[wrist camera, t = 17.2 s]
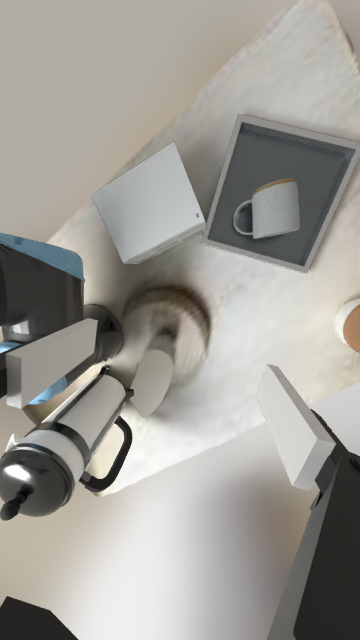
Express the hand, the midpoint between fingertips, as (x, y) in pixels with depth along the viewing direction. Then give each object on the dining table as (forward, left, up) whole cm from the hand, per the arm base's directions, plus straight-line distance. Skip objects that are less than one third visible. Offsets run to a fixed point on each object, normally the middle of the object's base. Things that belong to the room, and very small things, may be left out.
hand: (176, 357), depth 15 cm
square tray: (+8, +22, -32) cm, 40 cm away
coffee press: (-15, -32, -32) cm, 48 cm away
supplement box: (-13, +14, -33) cm, 38 cm away
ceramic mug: (+8, +22, -32) cm, 39 cm away
